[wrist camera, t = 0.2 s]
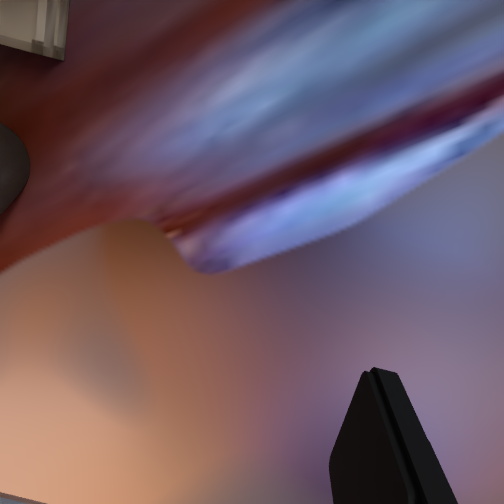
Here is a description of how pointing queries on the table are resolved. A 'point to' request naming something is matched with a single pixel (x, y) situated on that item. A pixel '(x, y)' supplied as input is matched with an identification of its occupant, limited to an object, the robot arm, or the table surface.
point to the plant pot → (12, 167)
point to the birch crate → (35, 26)
